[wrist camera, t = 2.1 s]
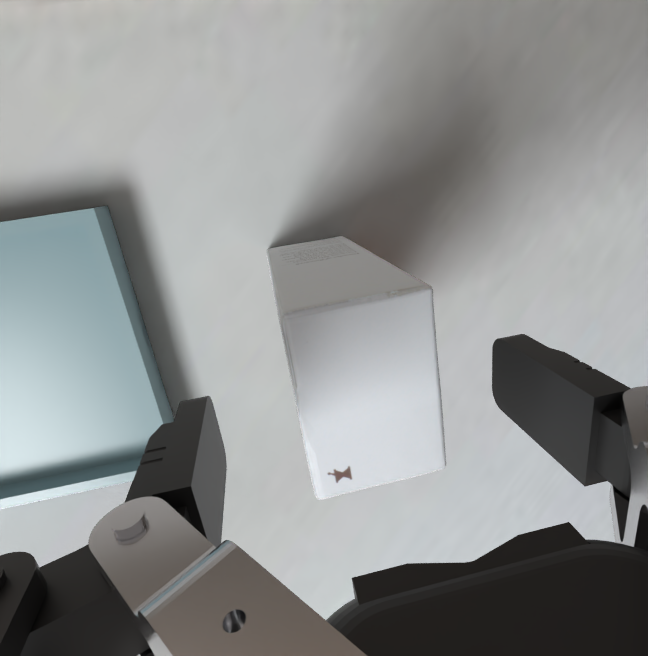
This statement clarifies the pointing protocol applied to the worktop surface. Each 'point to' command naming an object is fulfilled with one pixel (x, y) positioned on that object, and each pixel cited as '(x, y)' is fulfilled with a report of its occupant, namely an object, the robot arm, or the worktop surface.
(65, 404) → the tray
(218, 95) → the worktop surface
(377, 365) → the skincare box
